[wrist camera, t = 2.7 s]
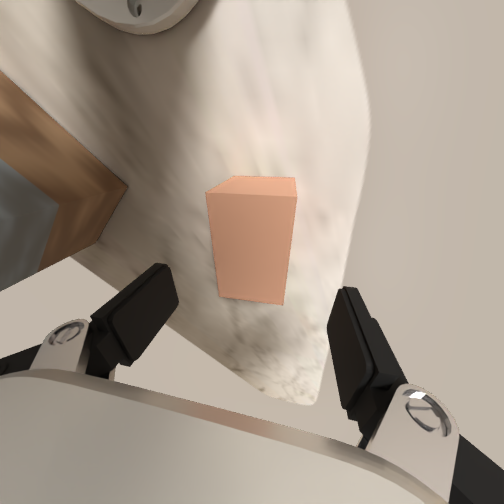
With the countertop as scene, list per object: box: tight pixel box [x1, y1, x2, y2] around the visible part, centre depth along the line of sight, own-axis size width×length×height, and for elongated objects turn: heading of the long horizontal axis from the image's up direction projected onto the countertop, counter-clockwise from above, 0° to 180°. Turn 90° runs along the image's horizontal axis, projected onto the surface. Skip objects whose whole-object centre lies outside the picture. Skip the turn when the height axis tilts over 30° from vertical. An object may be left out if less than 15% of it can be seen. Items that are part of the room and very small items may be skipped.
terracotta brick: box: [205, 176, 297, 305], centre depth 14 cm, size 8×5×6 cm, turn 0°
